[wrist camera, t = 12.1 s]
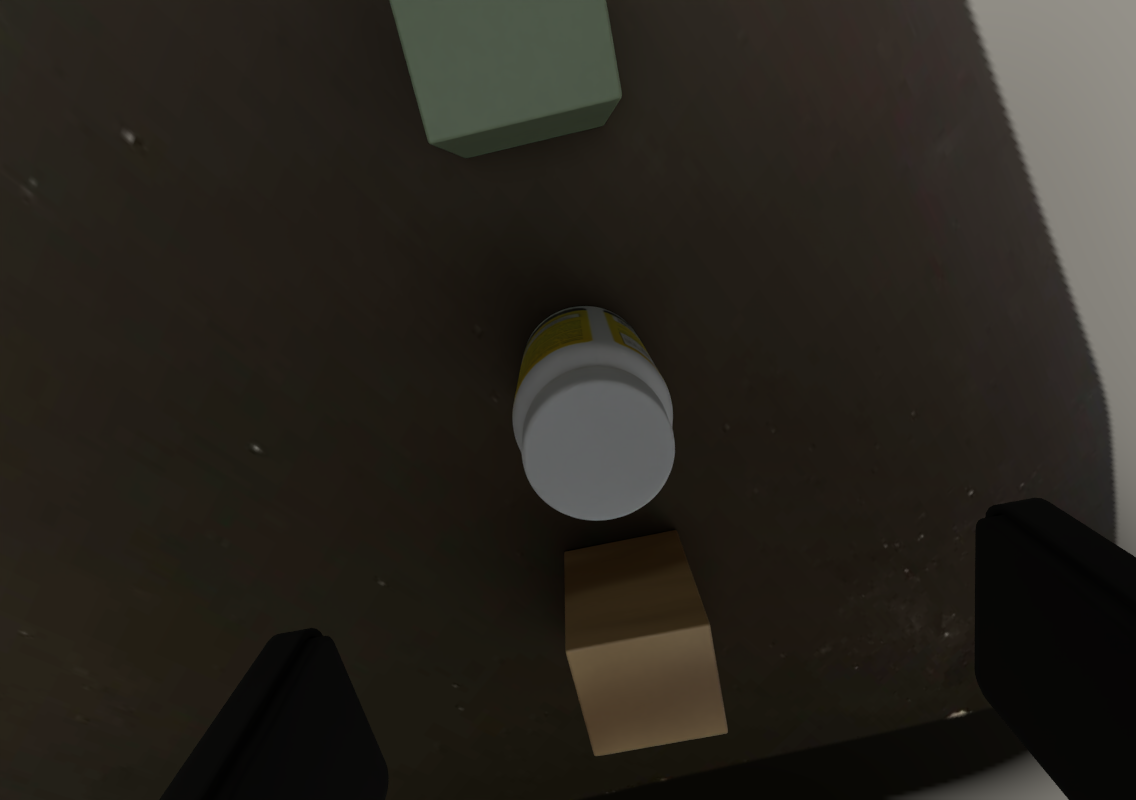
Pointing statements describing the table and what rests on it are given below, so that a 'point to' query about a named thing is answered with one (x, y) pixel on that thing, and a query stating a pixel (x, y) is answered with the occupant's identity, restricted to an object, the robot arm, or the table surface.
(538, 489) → the supplement bottle
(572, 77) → the sage block
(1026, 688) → the robot arm
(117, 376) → the table surface
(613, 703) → the oak block
